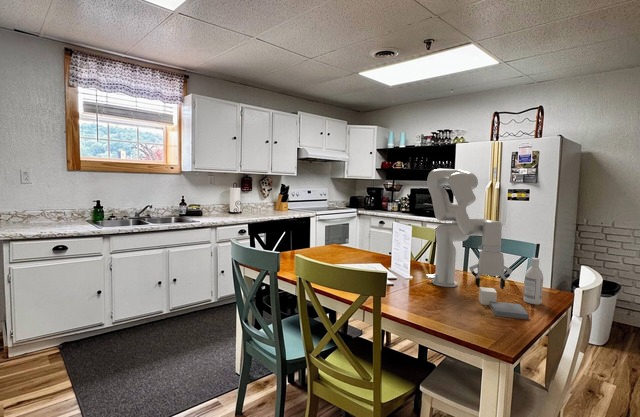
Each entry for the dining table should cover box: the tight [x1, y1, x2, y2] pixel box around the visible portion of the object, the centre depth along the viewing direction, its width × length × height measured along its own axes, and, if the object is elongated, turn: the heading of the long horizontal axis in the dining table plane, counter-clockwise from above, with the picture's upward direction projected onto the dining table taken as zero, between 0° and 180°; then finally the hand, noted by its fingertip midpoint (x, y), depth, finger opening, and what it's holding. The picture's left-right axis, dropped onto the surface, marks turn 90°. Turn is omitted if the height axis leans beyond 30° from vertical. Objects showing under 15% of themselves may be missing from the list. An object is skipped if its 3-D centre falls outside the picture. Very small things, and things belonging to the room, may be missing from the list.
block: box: [478, 286, 498, 306], centre depth 158 cm, size 6×6×6 cm
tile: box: [488, 301, 530, 320], centre depth 147 cm, size 12×12×2 cm
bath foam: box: [523, 257, 544, 305], centre depth 160 cm, size 7×7×20 cm
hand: (489, 287), depth 157 cm, fingers open, 9 cm apart
